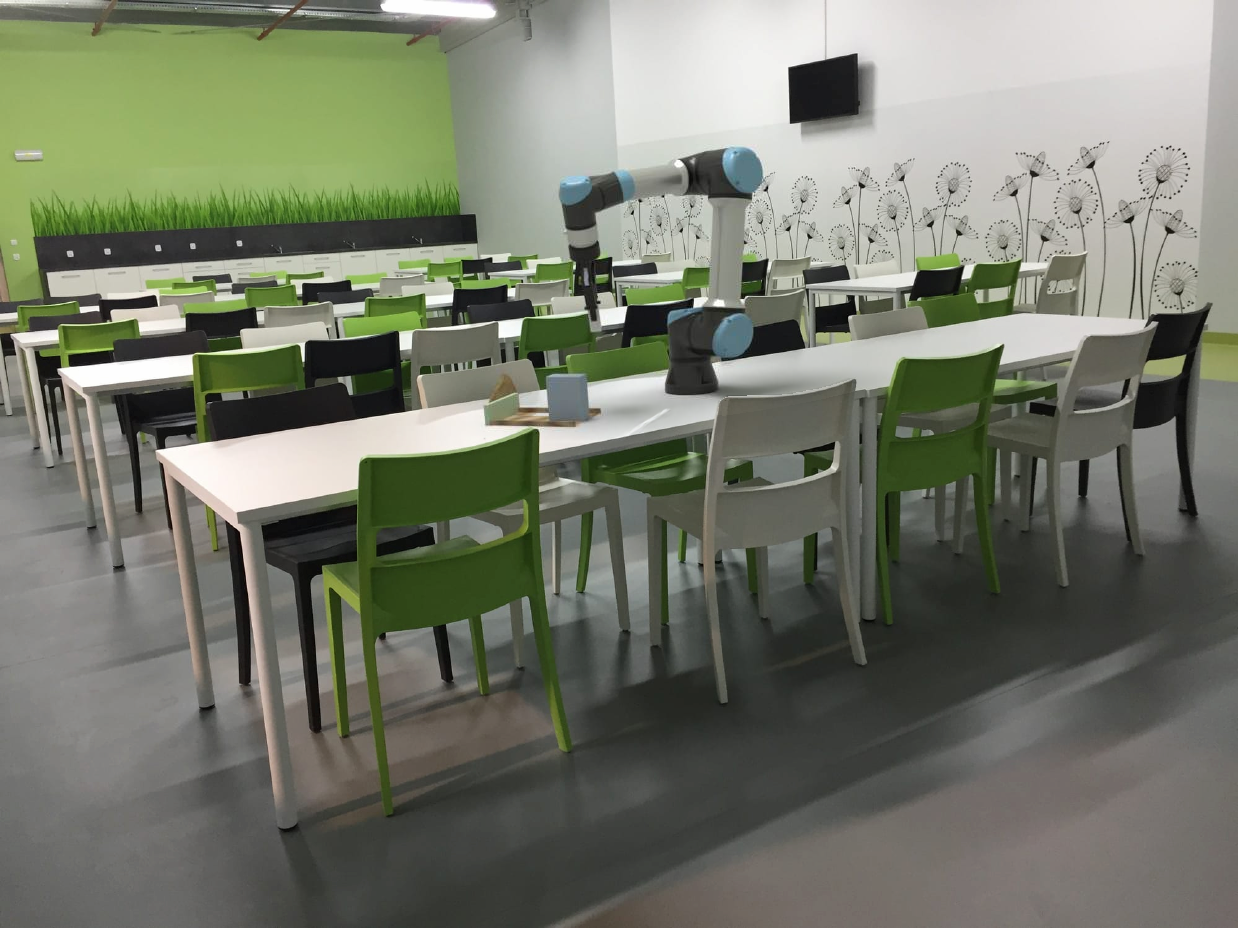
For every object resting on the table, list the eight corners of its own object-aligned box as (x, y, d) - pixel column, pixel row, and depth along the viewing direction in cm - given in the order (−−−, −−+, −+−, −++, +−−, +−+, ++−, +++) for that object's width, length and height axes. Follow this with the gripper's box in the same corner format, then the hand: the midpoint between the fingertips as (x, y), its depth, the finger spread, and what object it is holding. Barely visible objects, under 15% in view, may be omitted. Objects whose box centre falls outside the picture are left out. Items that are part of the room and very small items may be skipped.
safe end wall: (520, 415, 262) (518, 392, 260) (490, 429, 247) (487, 405, 245) (516, 415, 262) (514, 392, 261) (485, 429, 247) (483, 405, 246)
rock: (530, 403, 265) (525, 392, 274) (508, 380, 261) (504, 370, 270) (499, 430, 266) (495, 418, 275) (478, 407, 262) (474, 396, 271)
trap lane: (601, 416, 253) (600, 408, 253) (574, 430, 238) (574, 421, 238) (520, 415, 262) (519, 407, 261) (490, 429, 247) (489, 420, 246)
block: (589, 417, 248) (586, 373, 245) (582, 421, 244) (579, 377, 241) (556, 417, 251) (553, 374, 248) (549, 420, 247) (545, 377, 244)
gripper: (569, 234, 245) (583, 320, 258) (565, 254, 235) (580, 343, 247) (599, 230, 245) (611, 318, 258) (597, 250, 234) (609, 340, 247)
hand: (596, 330), depth 253 cm, fingers closed
